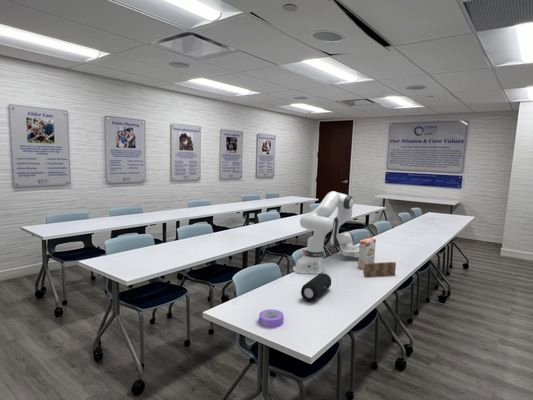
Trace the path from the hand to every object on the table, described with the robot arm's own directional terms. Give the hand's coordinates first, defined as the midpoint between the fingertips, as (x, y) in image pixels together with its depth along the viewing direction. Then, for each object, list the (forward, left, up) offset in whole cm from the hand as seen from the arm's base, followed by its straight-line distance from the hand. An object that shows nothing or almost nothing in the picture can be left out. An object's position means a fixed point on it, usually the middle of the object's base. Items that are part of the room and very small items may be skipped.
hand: (359, 255), depth 260 cm
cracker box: (0, -11, -6) cm, 12 cm away
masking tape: (-87, -83, -7) cm, 120 cm away
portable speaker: (-54, -55, -6) cm, 77 cm away
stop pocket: (0, -27, -6) cm, 28 cm away
